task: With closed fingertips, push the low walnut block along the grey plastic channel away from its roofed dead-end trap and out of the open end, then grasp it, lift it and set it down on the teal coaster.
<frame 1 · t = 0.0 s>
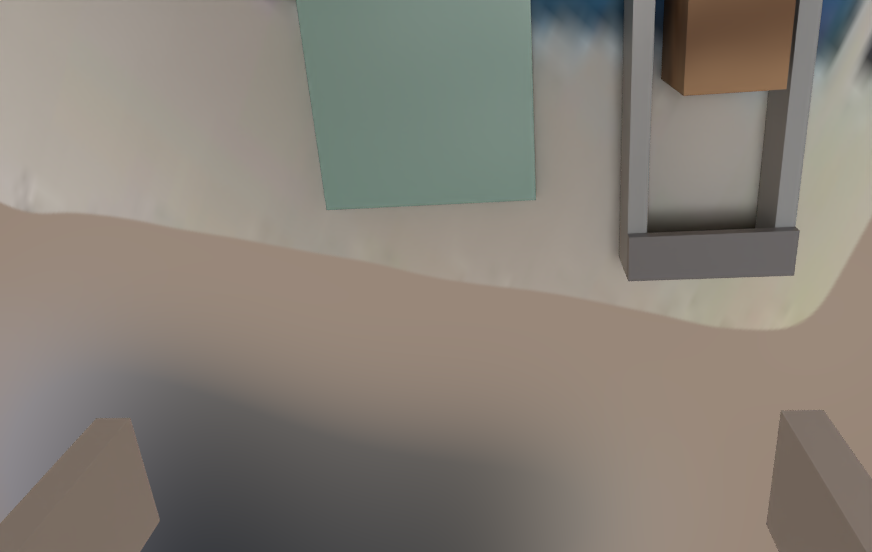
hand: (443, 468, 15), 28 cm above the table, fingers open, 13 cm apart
grey channel: (705, 76, 38), on the table
teal coaster: (422, 95, 39), on the table
walnut block: (709, 4, 36), resting in grey channel
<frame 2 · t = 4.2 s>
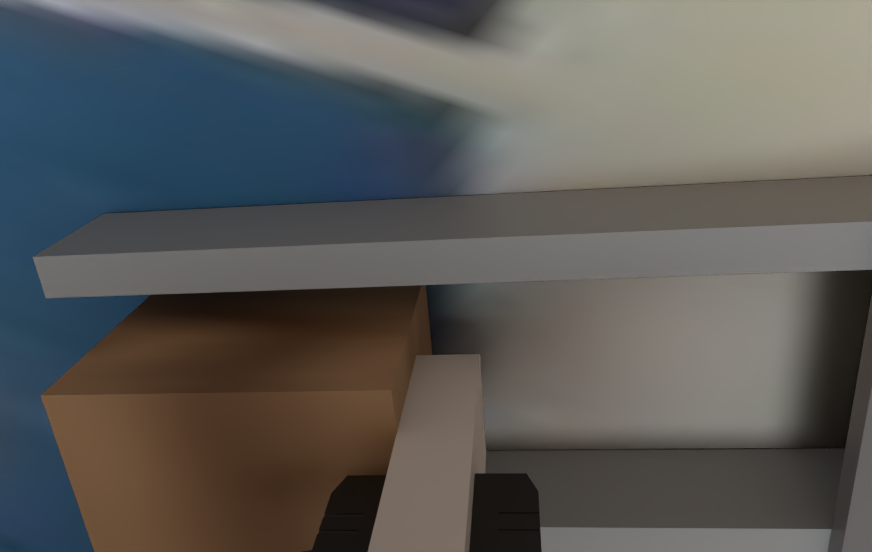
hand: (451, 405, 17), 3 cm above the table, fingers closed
grey channel: (500, 349, 19), on the table
walnut block: (304, 353, 20), resting in grey channel, touching gripper
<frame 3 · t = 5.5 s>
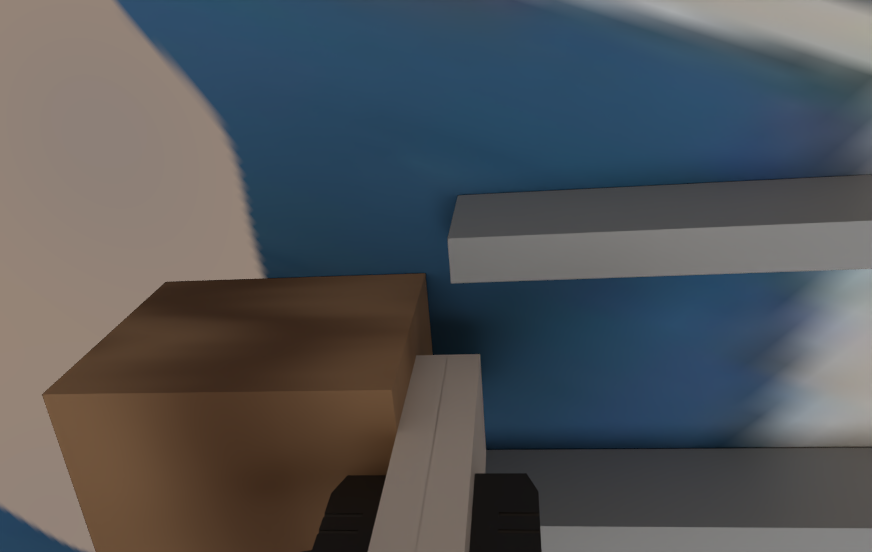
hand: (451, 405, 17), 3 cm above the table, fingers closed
grey channel: (870, 339, 18), on the table
walnut block: (305, 353, 20), on the table, touching gripper
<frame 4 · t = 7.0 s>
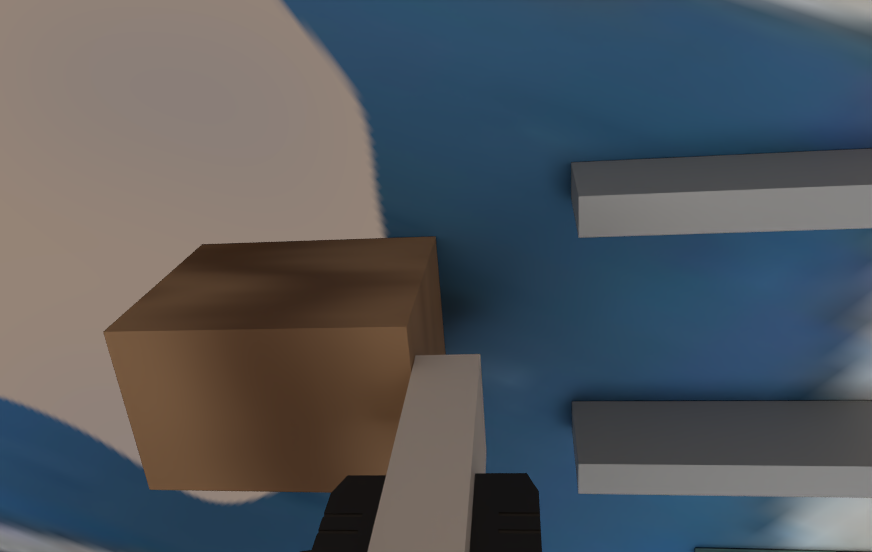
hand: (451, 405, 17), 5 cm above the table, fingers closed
walnut block: (326, 309, 22), on the table
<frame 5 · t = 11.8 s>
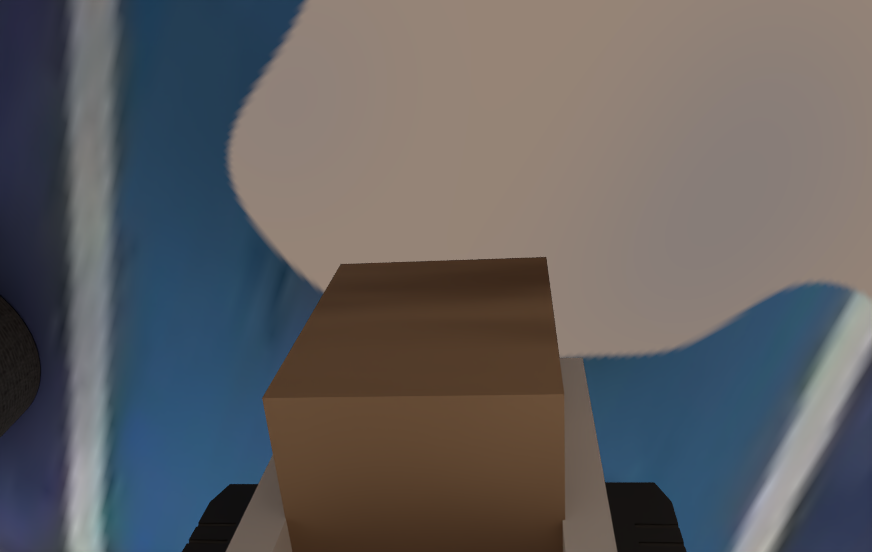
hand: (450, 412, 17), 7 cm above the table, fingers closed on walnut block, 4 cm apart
walnut block: (452, 398, 17), point 6 cm above the table, touching gripper
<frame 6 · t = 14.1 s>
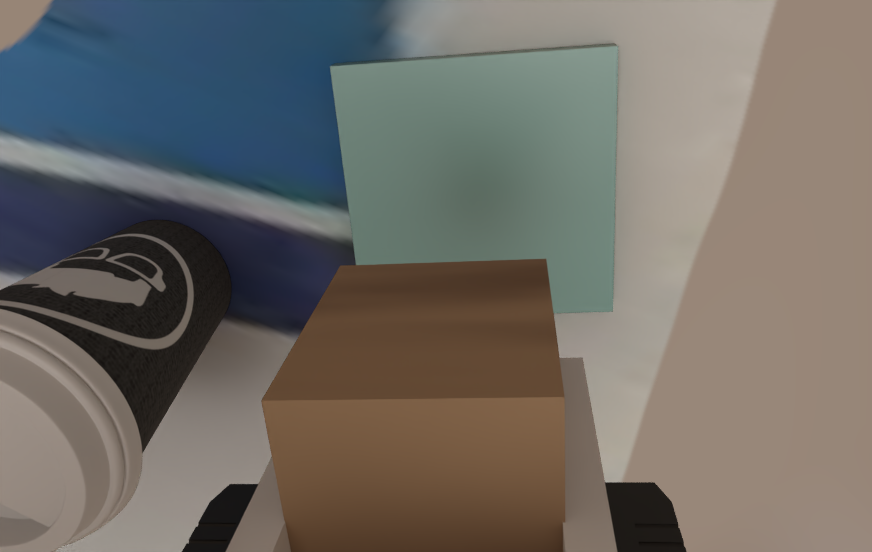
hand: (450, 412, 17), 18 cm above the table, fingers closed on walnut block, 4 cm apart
coffee cup: (171, 278, 37), on the table
teal coaster: (479, 188, 33), on the table
walnut block: (452, 400, 17), point 18 cm above the table, touching gripper
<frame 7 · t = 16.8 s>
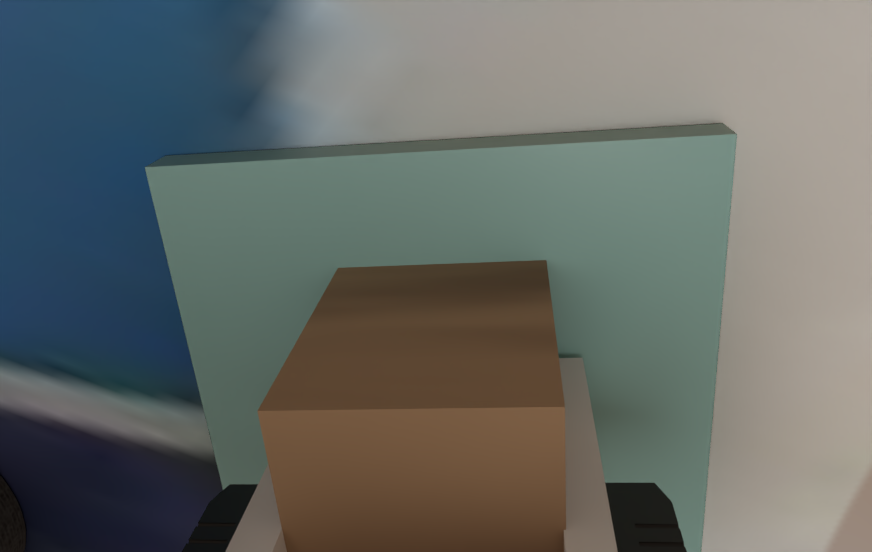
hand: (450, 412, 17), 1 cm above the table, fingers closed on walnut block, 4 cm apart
teal coaster: (451, 381, 18), on the table
walnut block: (451, 402, 17), point 1 cm above the table, touching gripper, teal coaster
when the fingers open (1 cm above the table, at t = 16.9 s): walnut block stays where it is, resting on teal coaster.
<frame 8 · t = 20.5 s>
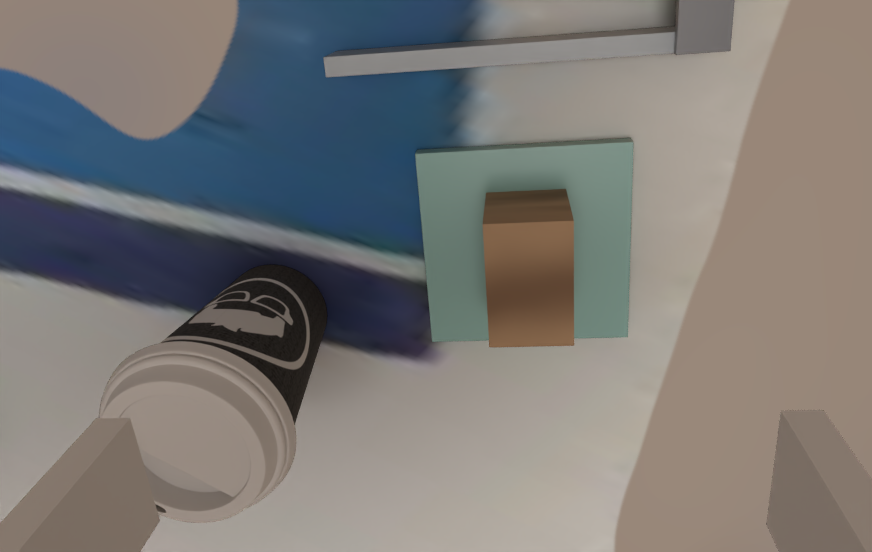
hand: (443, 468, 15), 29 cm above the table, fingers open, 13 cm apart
coffee cup: (279, 309, 47), on the table
teal coaster: (525, 243, 43), on the table
walnut block: (527, 248, 42), point 1 cm above the table, touching teal coaster
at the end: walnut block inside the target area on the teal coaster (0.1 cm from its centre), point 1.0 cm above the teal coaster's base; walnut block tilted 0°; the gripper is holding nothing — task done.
